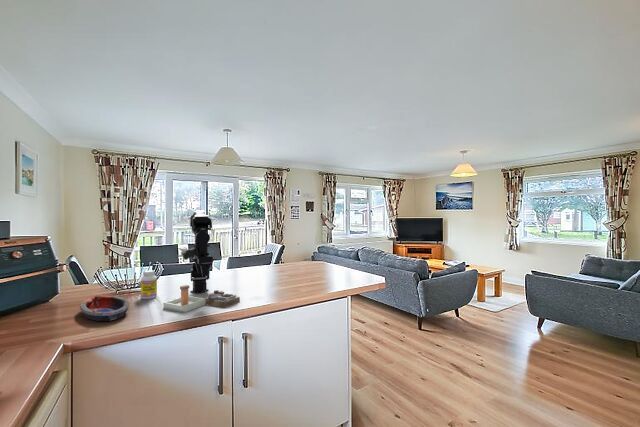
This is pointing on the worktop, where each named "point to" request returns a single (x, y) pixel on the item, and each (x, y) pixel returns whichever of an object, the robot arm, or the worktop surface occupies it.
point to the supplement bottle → (148, 285)
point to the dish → (104, 307)
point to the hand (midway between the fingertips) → (201, 275)
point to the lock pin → (184, 295)
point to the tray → (177, 306)
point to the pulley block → (221, 299)
